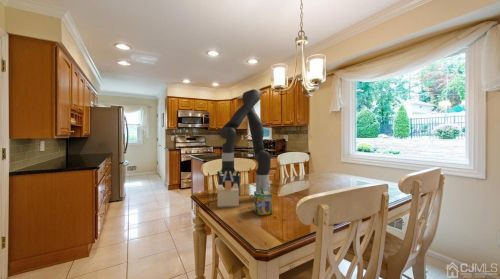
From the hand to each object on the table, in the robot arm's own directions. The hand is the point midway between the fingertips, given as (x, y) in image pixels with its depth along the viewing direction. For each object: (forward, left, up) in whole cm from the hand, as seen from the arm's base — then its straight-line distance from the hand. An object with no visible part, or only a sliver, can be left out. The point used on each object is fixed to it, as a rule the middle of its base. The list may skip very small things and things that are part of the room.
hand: (228, 187), depth 133 cm
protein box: (-1, -26, -13) cm, 29 cm away
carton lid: (0, -6, -2) cm, 6 cm away
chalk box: (-20, +11, -13) cm, 26 cm away
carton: (0, -6, -12) cm, 14 cm away
